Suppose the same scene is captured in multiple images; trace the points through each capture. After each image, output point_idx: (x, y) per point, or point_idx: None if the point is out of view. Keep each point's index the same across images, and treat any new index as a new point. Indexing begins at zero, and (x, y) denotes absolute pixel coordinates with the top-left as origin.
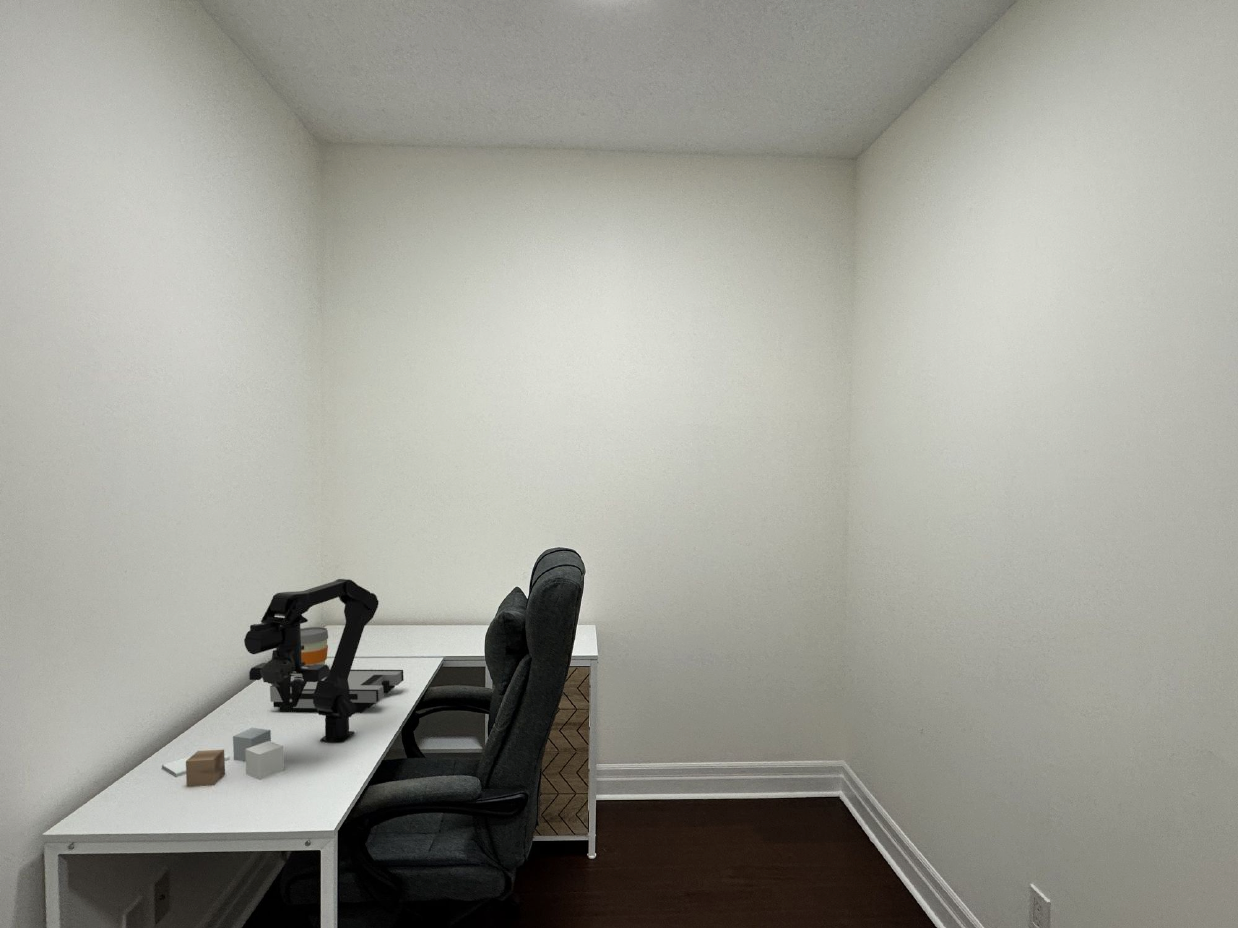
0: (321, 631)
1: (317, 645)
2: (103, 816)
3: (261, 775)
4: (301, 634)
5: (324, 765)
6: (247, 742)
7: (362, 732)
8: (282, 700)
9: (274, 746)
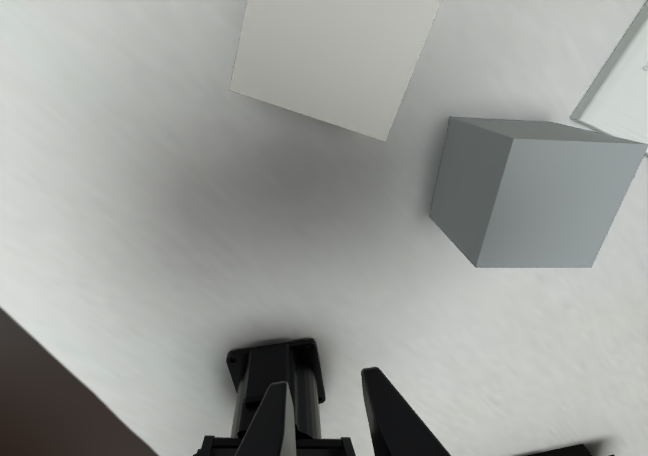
0: None
1: None
2: None
3: None
4: None
5: (107, 174)
6: (528, 134)
7: (229, 418)
8: (414, 418)
9: (279, 65)
